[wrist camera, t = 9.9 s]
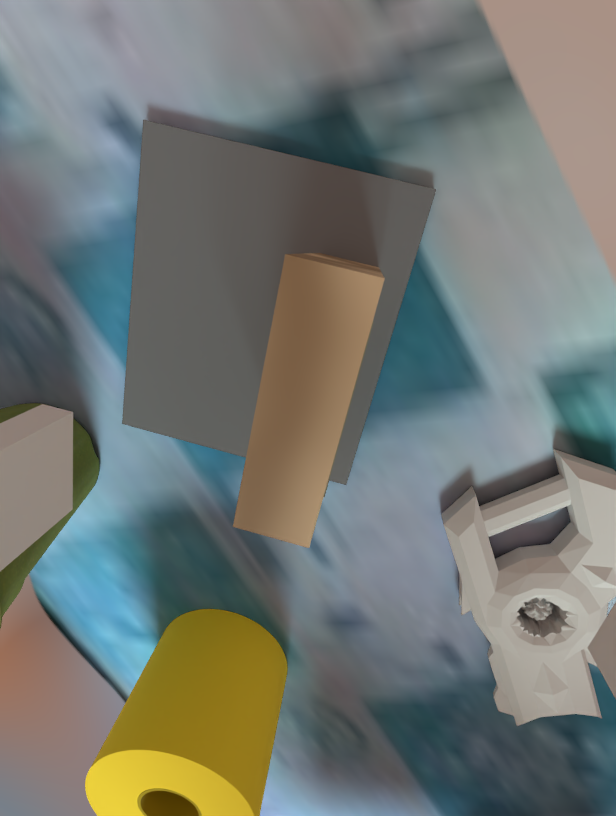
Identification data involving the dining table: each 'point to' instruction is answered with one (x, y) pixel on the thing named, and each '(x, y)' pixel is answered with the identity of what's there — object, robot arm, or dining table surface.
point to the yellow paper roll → (195, 723)
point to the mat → (247, 276)
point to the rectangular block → (305, 392)
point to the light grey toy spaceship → (540, 587)
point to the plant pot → (9, 581)
